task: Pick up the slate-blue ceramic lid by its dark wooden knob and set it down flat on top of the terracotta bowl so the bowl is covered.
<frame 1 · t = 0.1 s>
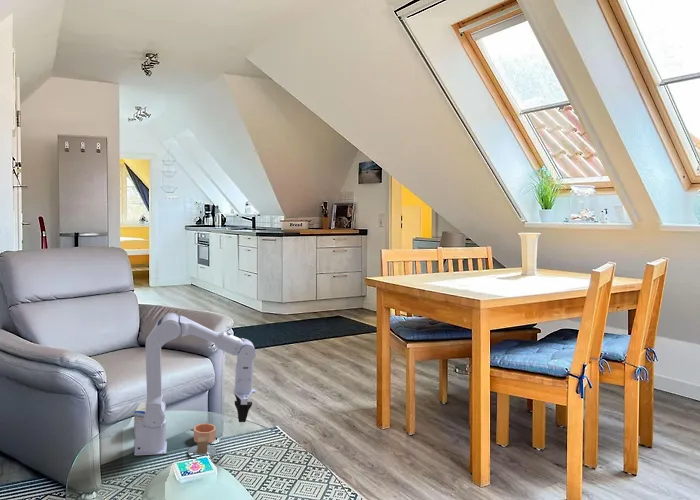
hand: (241, 416, 192), 10 cm above the table, tool pointing down, fingers open, 7 cm apart
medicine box: (143, 430, 198), on the table
lid: (201, 453, 186), on the table
bowl: (204, 439, 195), on the table
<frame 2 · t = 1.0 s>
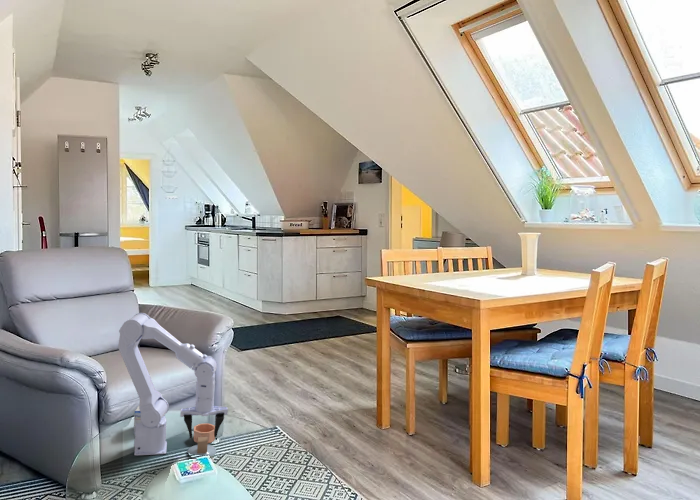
hand: (203, 436, 185), 6 cm above the table, tool pointing down, fingers open, 7 cm apart
nothing on the table moved.
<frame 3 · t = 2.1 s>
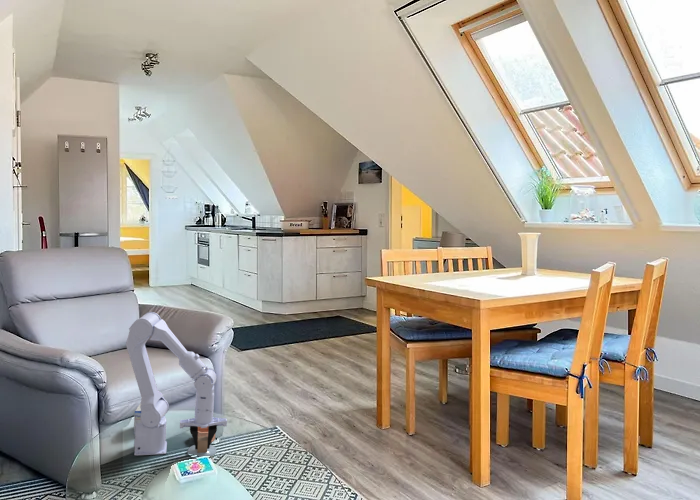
hand: (202, 447, 186), 2 cm above the table, tool pointing down, fingers closed on lid, 3 cm apart
lid: (202, 452, 186), on the table, touching gripper
everything else where it was.
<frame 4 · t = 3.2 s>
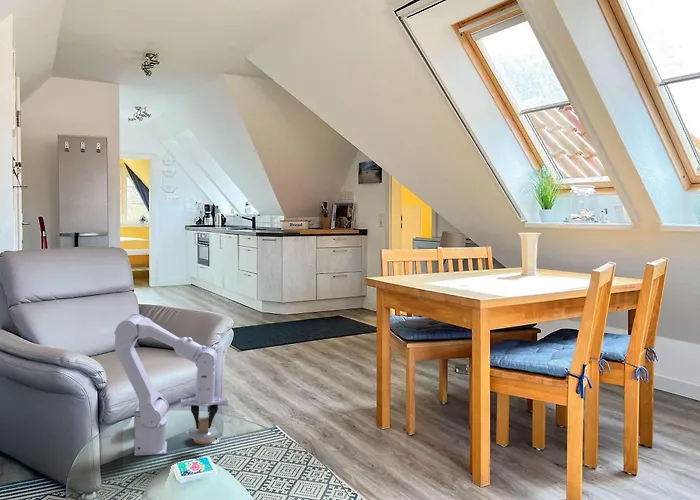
hand: (203, 427, 185), 9 cm above the table, tool pointing down, fingers closed on lid, 3 cm apart
lid: (202, 433, 185), point 6 cm above the table, touching gripper
everything else where it was.
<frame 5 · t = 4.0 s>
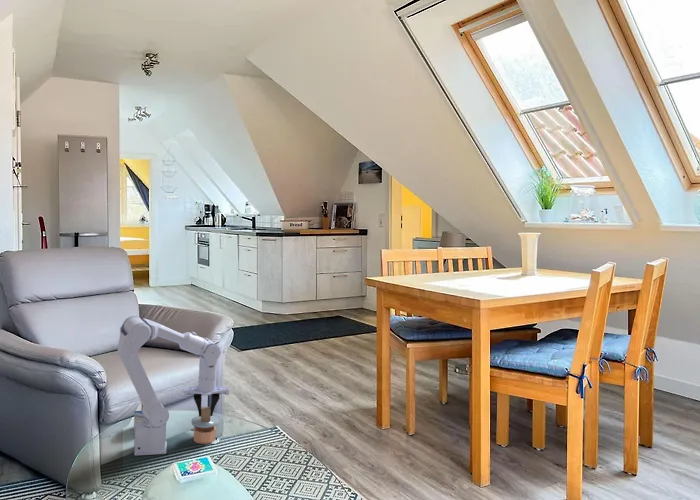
hand: (205, 415, 194), 8 cm above the table, tool pointing down, fingers closed on lid, 3 cm apart
lid: (205, 422, 194), point 6 cm above the table, touching gripper
everything else where it was.
when the fingers open (7 cm above the table, at t = 4.6 s): lid stays where it is, resting on bowl.
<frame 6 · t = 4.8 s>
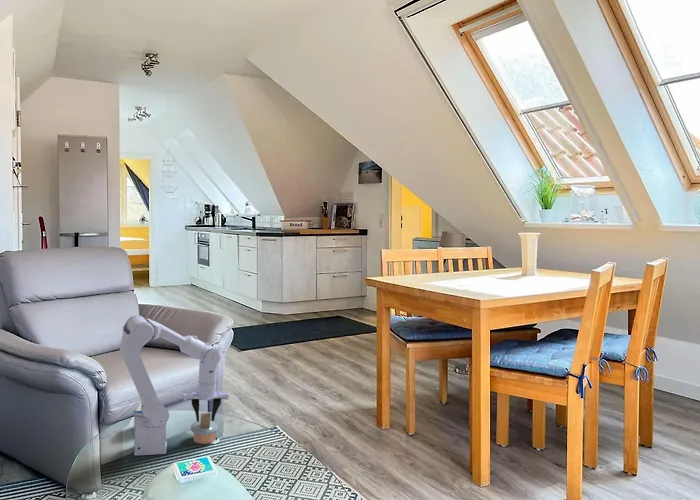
hand: (205, 420, 194), 7 cm above the table, tool pointing down, fingers open, 4 cm apart
lid: (204, 428, 194), point 4 cm above the table, touching bowl
bowl: (204, 439, 195), on the table, touching lid
everything else where it was.
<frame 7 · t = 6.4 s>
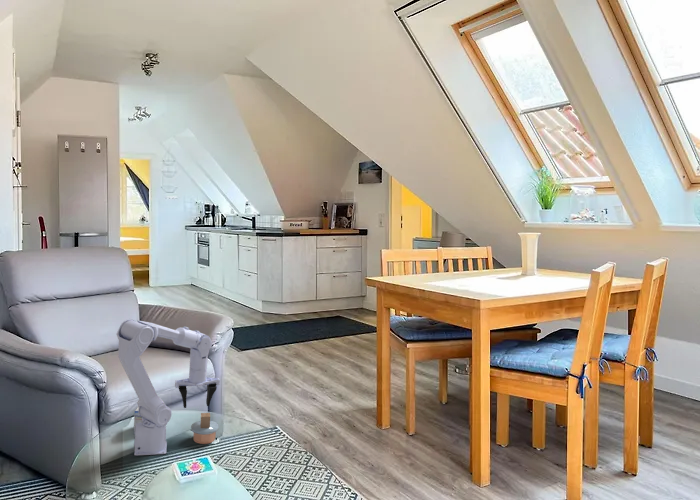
hand: (196, 405, 197), 10 cm above the table, tool pointing down, fingers open, 7 cm apart
lid: (204, 428, 195), point 4 cm above the table
bowl: (204, 439, 195), on the table
everything else where it was.
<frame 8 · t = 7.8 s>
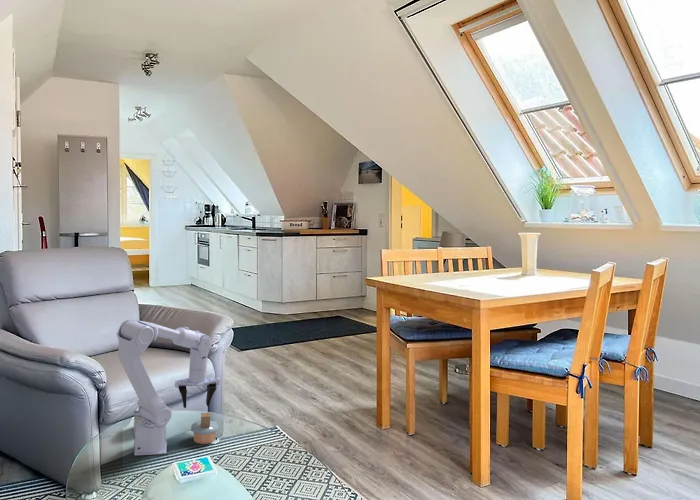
hand: (196, 405, 197), 10 cm above the table, tool pointing down, fingers open, 7 cm apart
lid: (205, 428, 195), point 4 cm above the table, touching bowl
bowl: (204, 439, 195), on the table, touching lid
everything else where it was.
at the end: lid 0.2 cm off-centre on the bowl, point 4.0 cm above the bowl's base; lid tilted 0°; the gripper is holding nothing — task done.
